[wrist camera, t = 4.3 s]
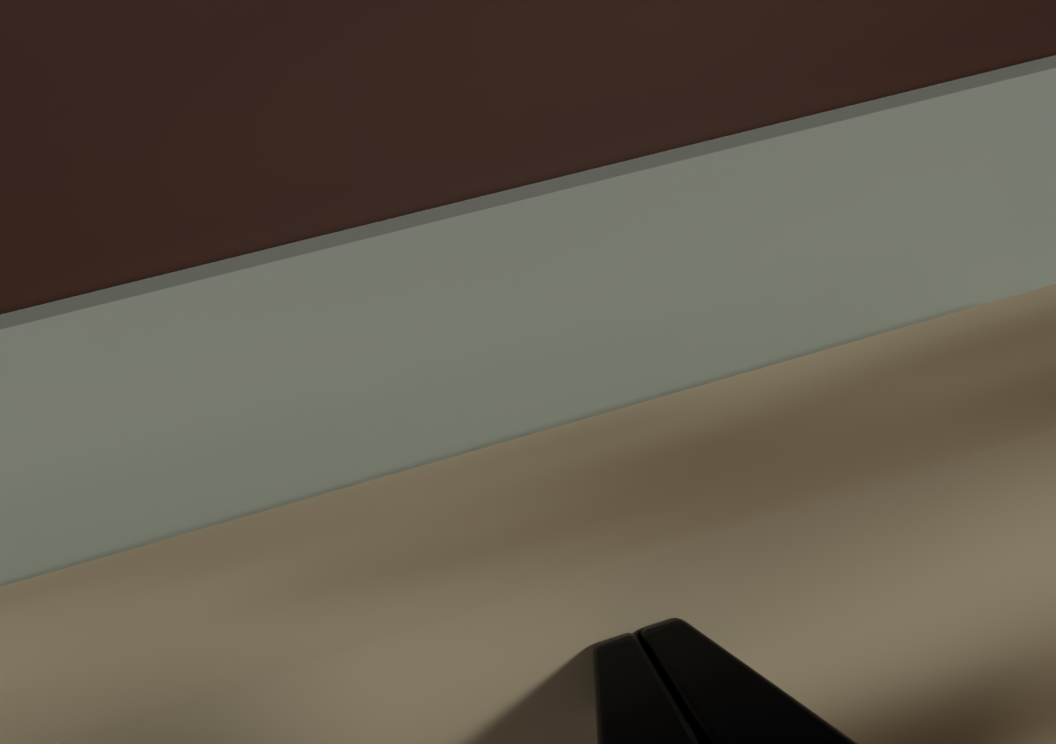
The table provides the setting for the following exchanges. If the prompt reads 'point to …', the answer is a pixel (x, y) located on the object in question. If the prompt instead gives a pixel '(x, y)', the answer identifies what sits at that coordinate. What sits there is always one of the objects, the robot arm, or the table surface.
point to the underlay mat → (512, 314)
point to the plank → (609, 569)
